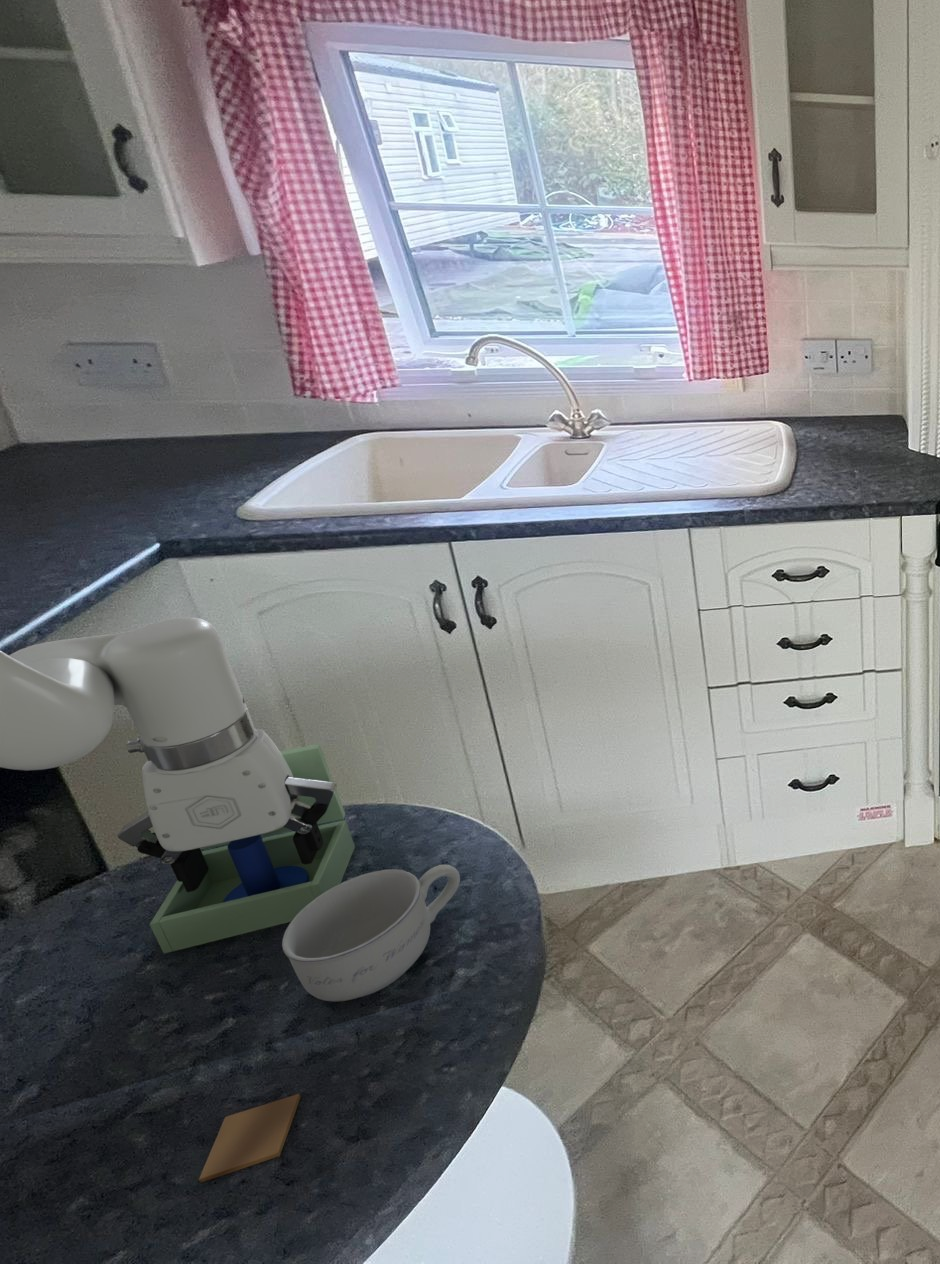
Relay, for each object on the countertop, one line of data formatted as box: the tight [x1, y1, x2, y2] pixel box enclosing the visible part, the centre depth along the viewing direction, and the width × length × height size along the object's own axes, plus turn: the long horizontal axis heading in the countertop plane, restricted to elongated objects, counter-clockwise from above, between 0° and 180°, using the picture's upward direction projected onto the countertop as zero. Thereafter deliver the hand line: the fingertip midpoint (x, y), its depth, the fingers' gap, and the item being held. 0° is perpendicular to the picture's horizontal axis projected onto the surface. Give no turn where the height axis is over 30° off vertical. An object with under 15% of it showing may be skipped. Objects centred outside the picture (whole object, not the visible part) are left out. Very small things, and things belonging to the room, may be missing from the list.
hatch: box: [200, 743, 346, 851], centre depth 89 cm, size 10×13×1 cm
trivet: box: [198, 1093, 301, 1183], centre depth 68 cm, size 5×5×1 cm
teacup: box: [281, 864, 461, 1002], centre depth 82 cm, size 14×11×8 cm
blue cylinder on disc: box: [222, 835, 309, 903], centre depth 88 cm, size 7×7×8 cm
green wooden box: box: [149, 819, 356, 954], centre depth 88 cm, size 10×13×5 cm
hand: (256, 867), depth 88 cm, fingers open, 9 cm apart
